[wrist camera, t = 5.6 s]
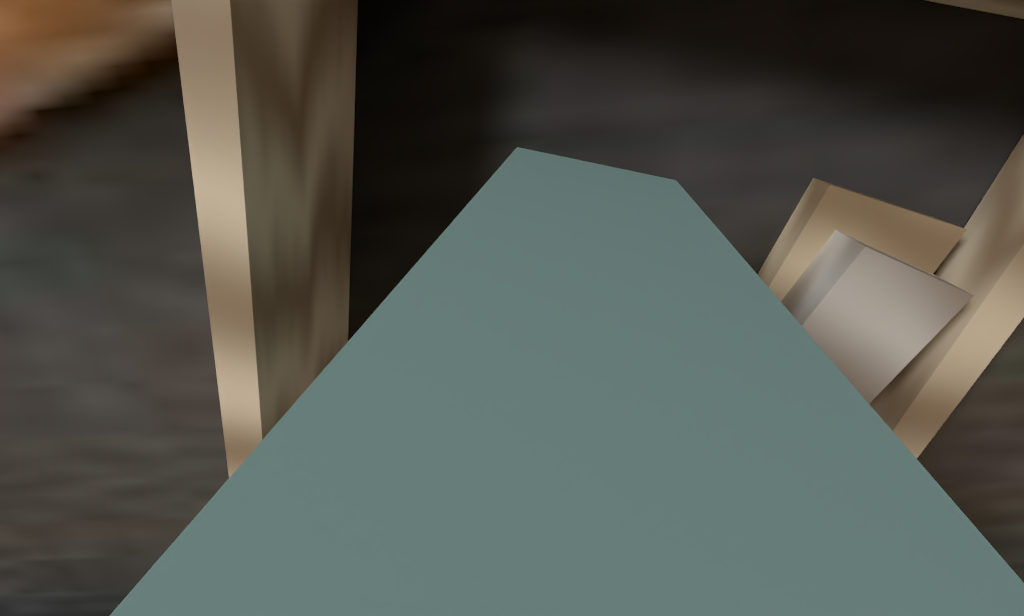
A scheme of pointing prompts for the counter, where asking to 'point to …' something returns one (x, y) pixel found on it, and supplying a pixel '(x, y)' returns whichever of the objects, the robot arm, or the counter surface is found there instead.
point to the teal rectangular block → (580, 442)
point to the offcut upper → (870, 310)
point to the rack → (328, 213)
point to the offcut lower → (854, 233)
